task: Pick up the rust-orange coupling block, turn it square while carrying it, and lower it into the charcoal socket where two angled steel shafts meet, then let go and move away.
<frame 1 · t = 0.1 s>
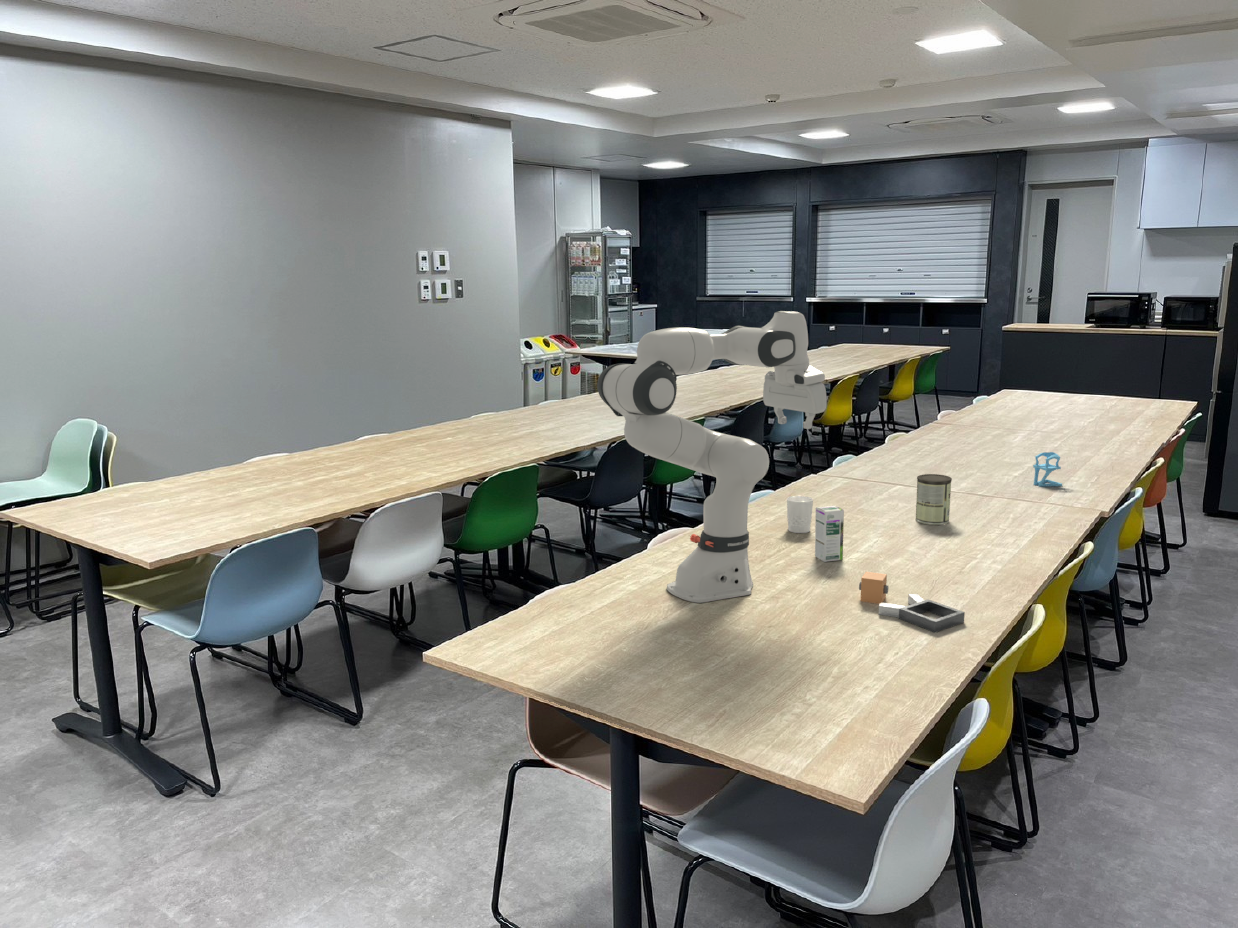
hand: (794, 426, 235), 39 cm above the table, tool pointing down, fingers open, 8 cm apart
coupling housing: (931, 620, 205), on the table
syrup box: (828, 559, 251), on the table
coupling block: (873, 599, 219), on the table
white cup: (799, 530, 278), on the table
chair: (1045, 485, 330), on the table
coffee can: (932, 521, 286), on the table
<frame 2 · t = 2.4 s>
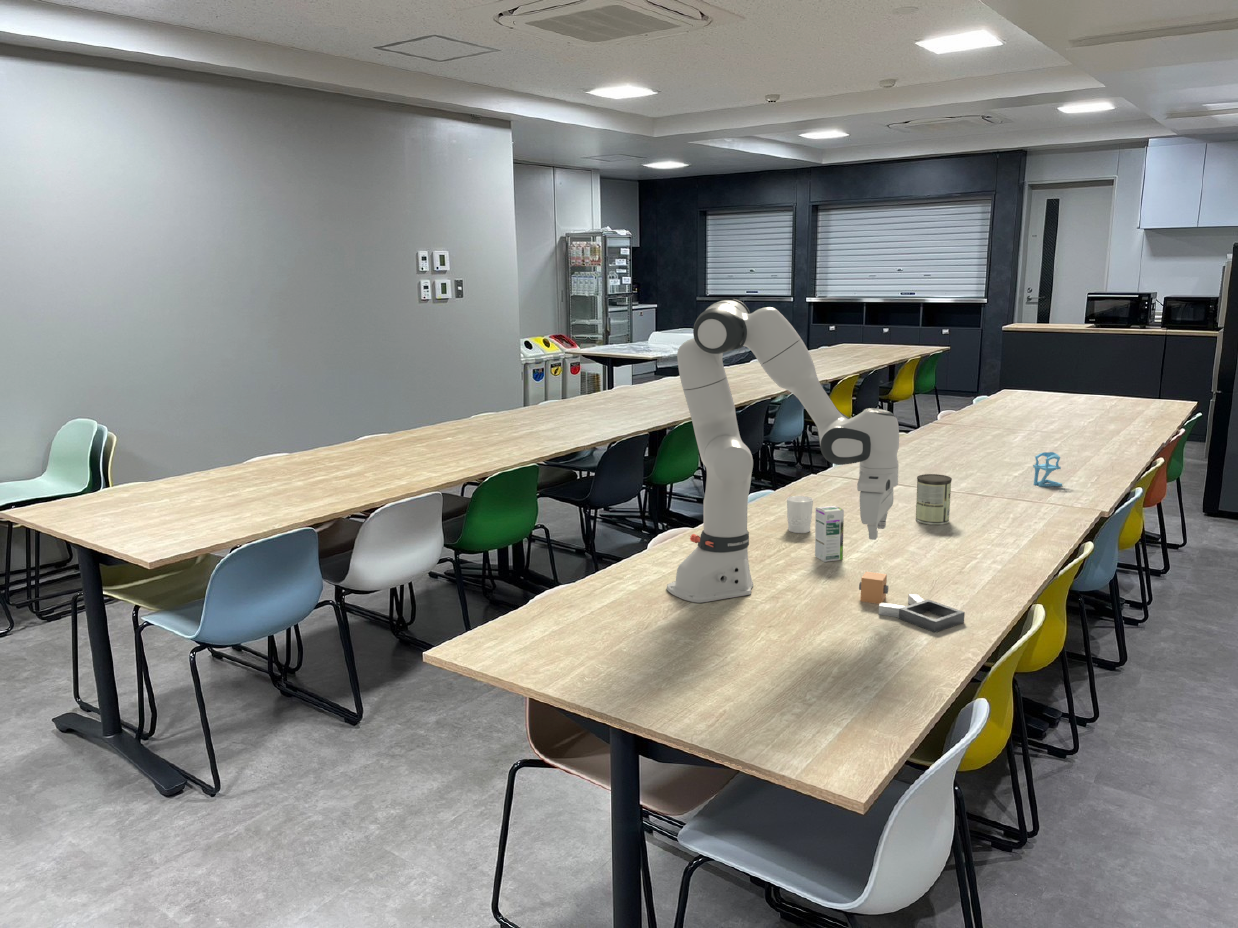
hand: (877, 533, 216), 17 cm above the table, tool pointing down, fingers open, 8 cm apart
nothing on the table moved.
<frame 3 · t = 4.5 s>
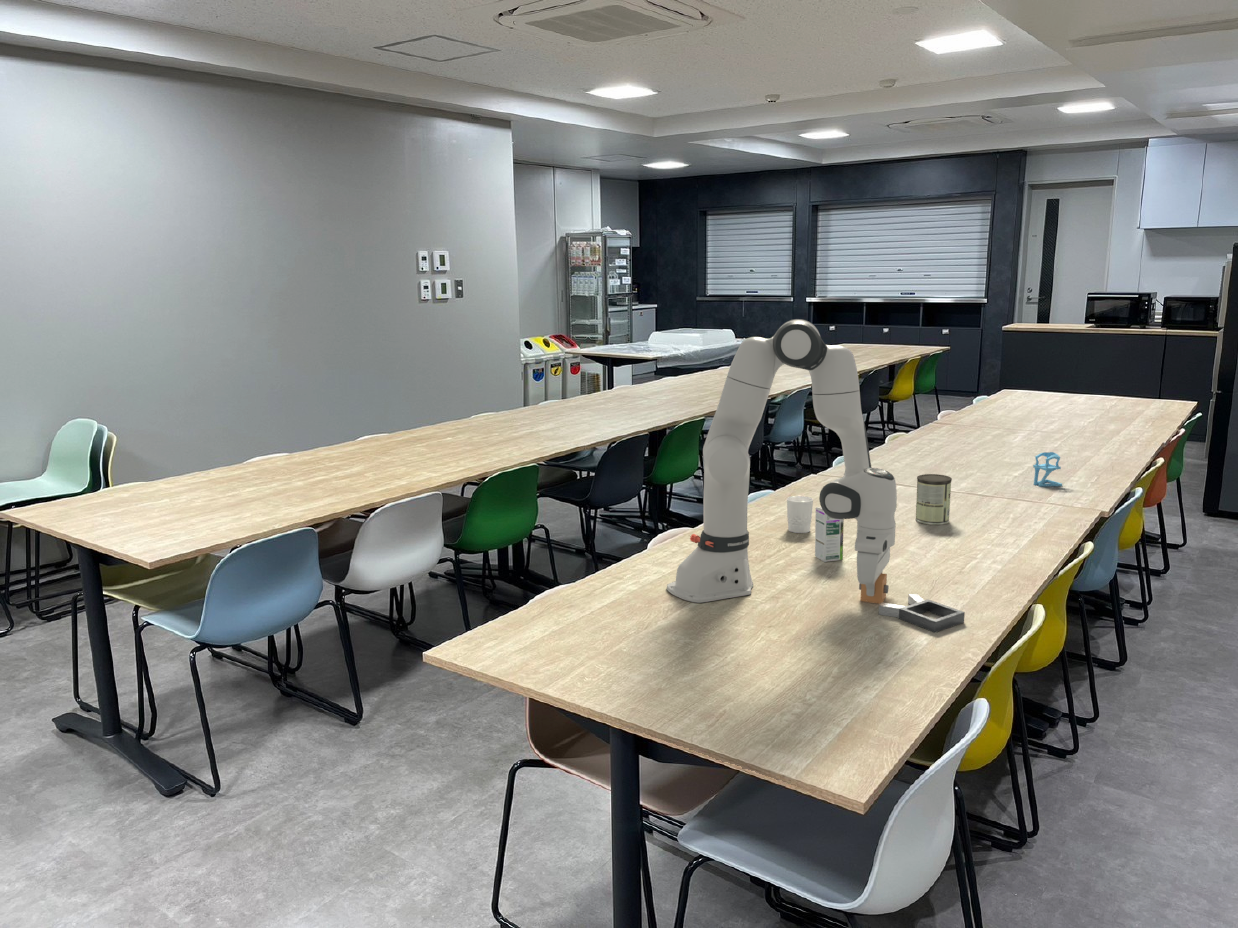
hand: (873, 590, 219), 2 cm above the table, tool pointing down, fingers closed on coupling block, 5 cm apart
coupling block: (873, 599, 219), on the table, touching gripper
everything else where it was.
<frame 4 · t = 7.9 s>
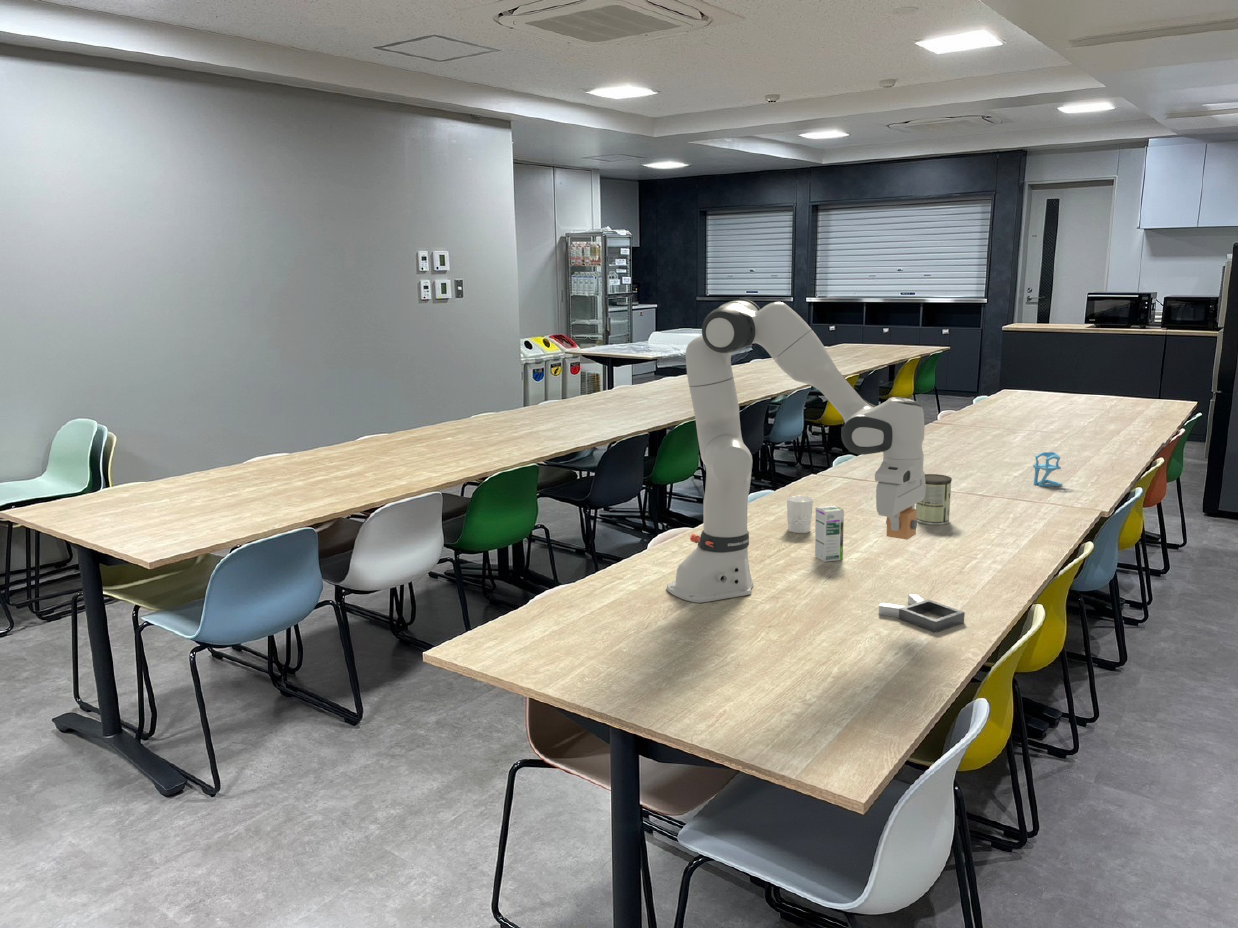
hand: (901, 526, 209), 20 cm above the table, tool pointing down, fingers closed on coupling block, 5 cm apart
coupling block: (901, 535, 210), point 18 cm above the table, touching gripper
everything else where it was.
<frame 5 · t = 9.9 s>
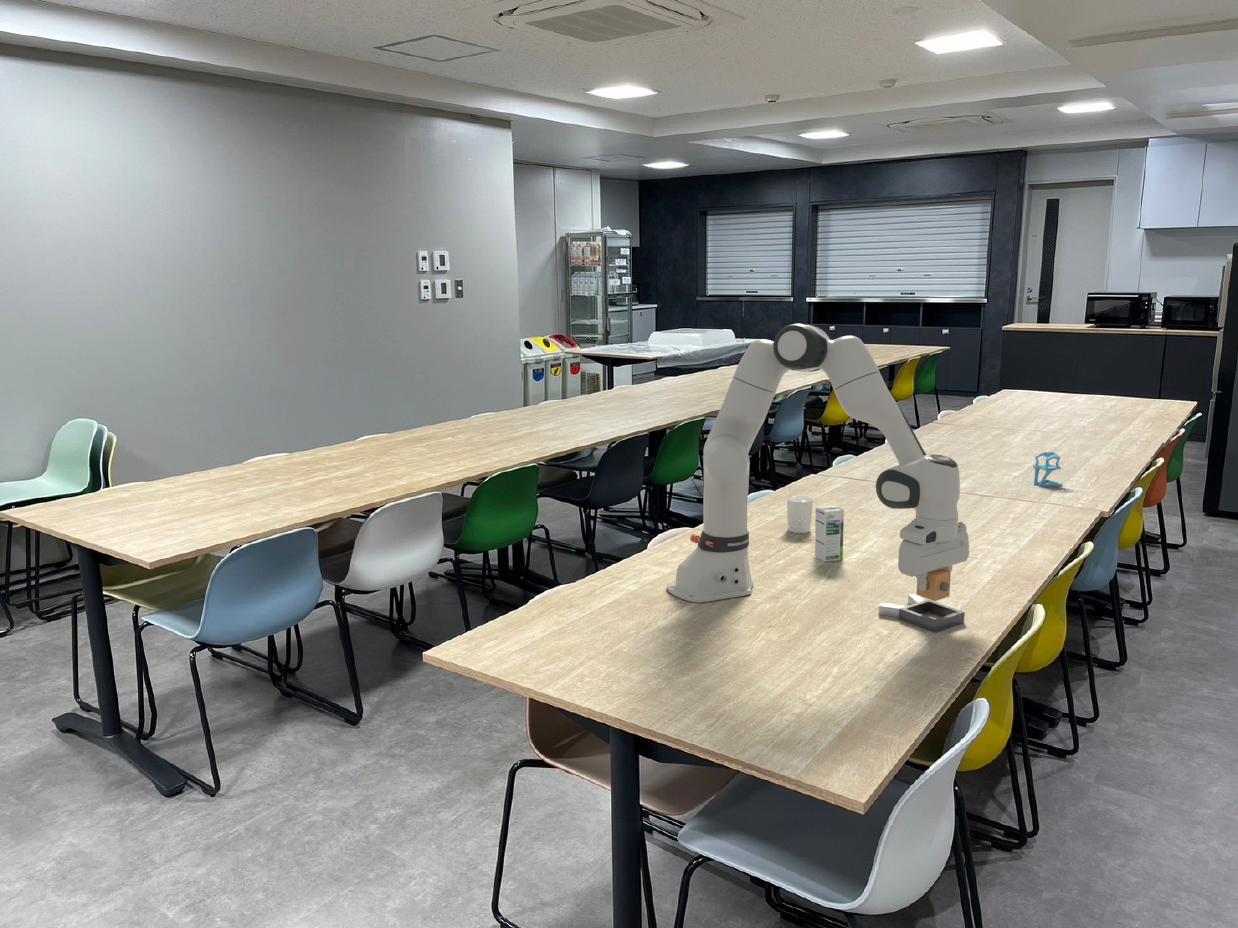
hand: (933, 586, 204), 8 cm above the table, tool pointing down, fingers closed on coupling block, 5 cm apart
coupling block: (932, 595, 204), point 6 cm above the table, touching gripper
everything else where it was.
when the fingers open (4 cm above the table, at t = 11.6 s): coupling block drops 2 cm, resting in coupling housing.
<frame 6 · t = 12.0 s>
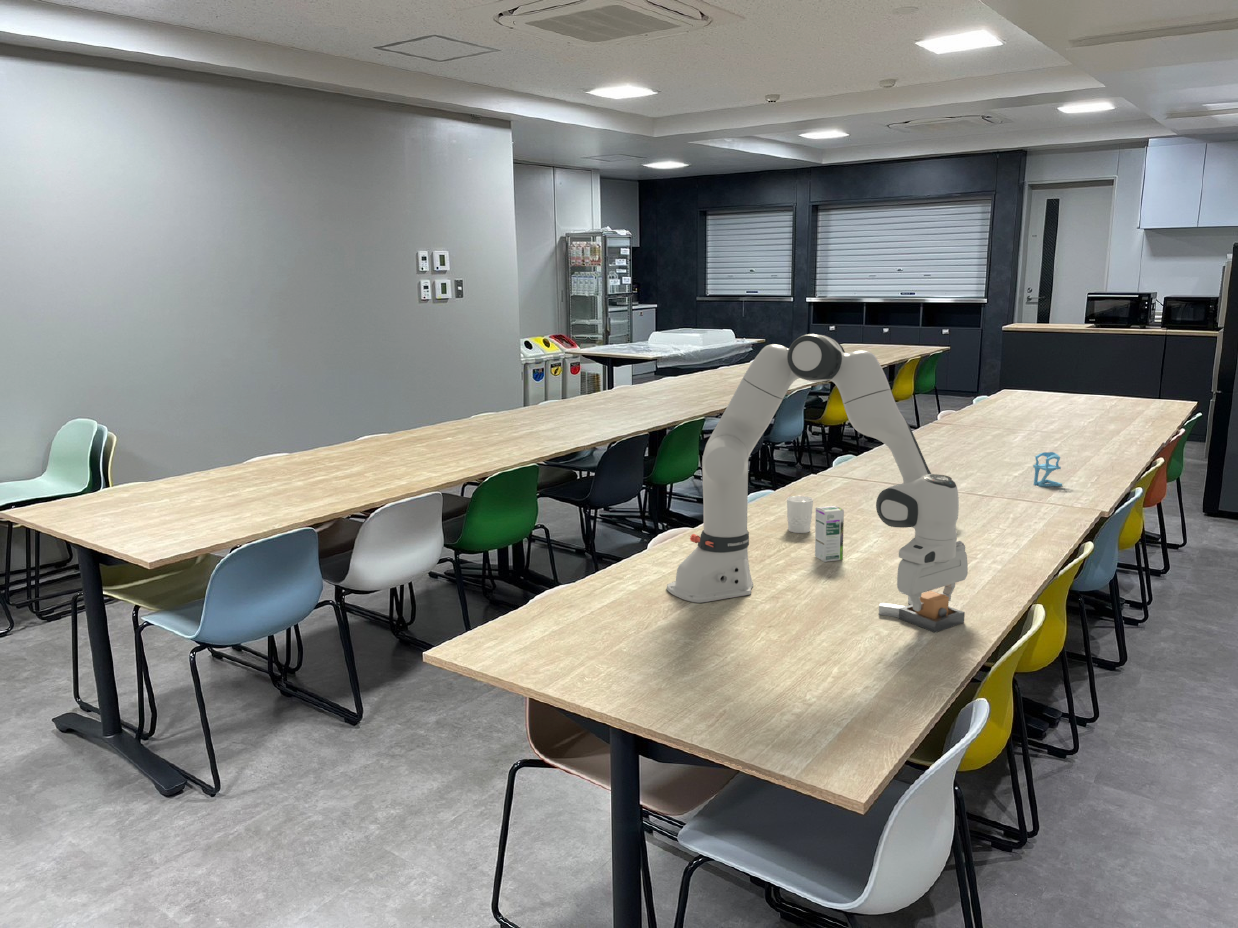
hand: (931, 605, 204), 4 cm above the table, tool pointing down, fingers open, 8 cm apart
coupling block: (931, 621, 205), resting in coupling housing
everything else where it was.
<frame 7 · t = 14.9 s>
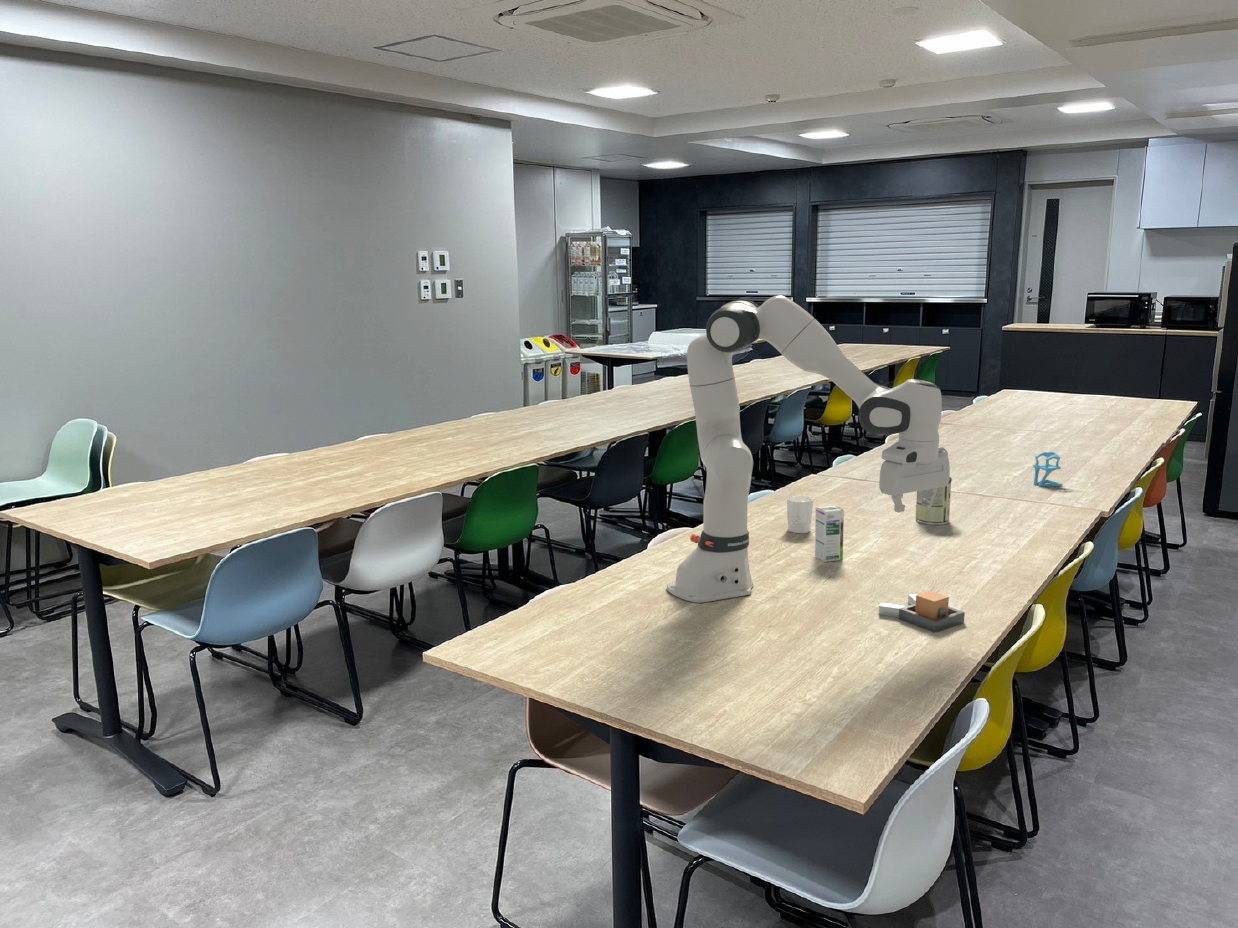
hand: (913, 509, 209), 24 cm above the table, tool pointing down, fingers open, 8 cm apart
nothing on the table moved.
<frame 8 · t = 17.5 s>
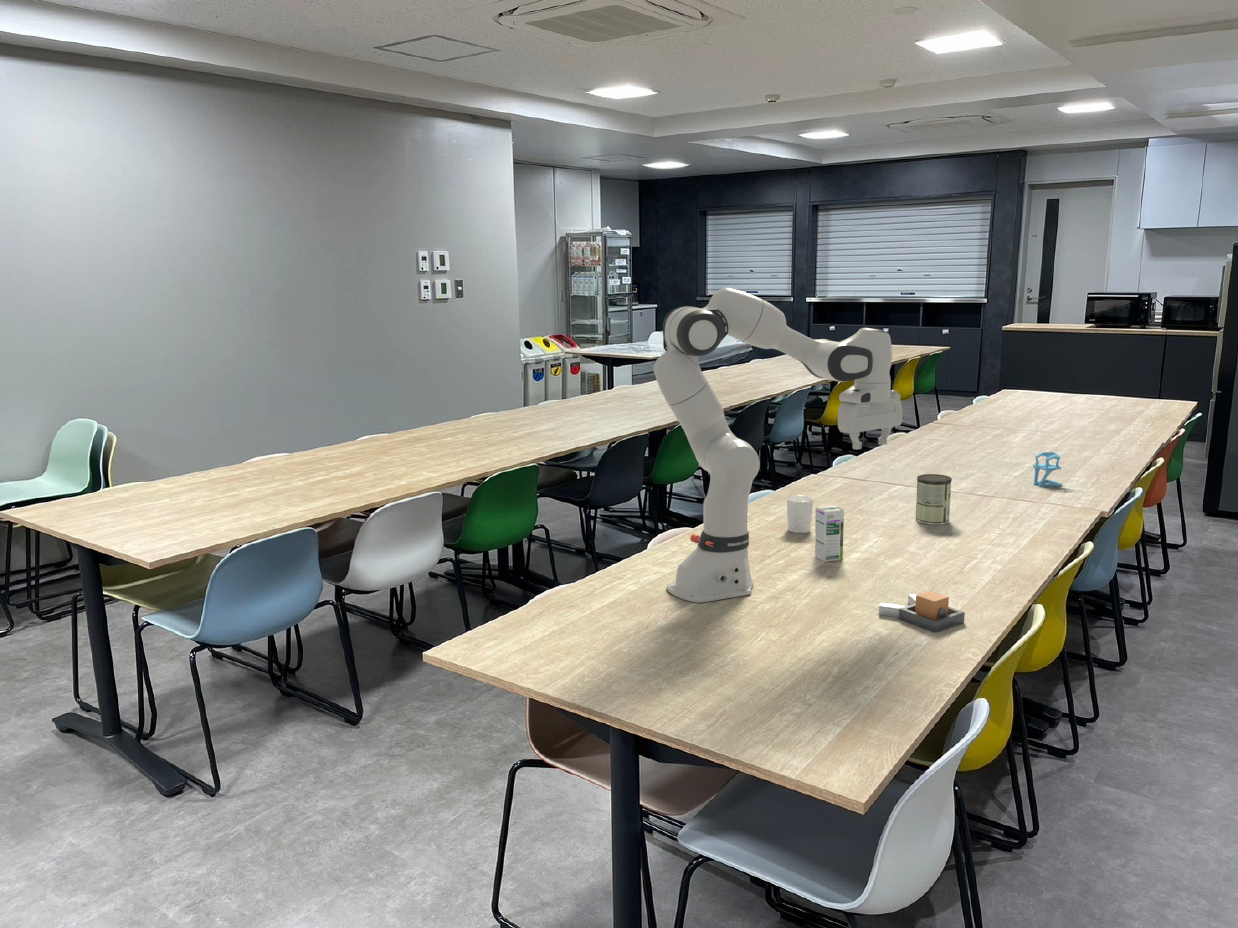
hand: (869, 446, 230), 34 cm above the table, tool pointing down, fingers open, 8 cm apart
nothing on the table moved.
at the end: coupling block 0.0 cm off-centre on the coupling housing, point 0.0 cm above the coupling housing's base; coupling block tilted 0°; the gripper is holding nothing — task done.
